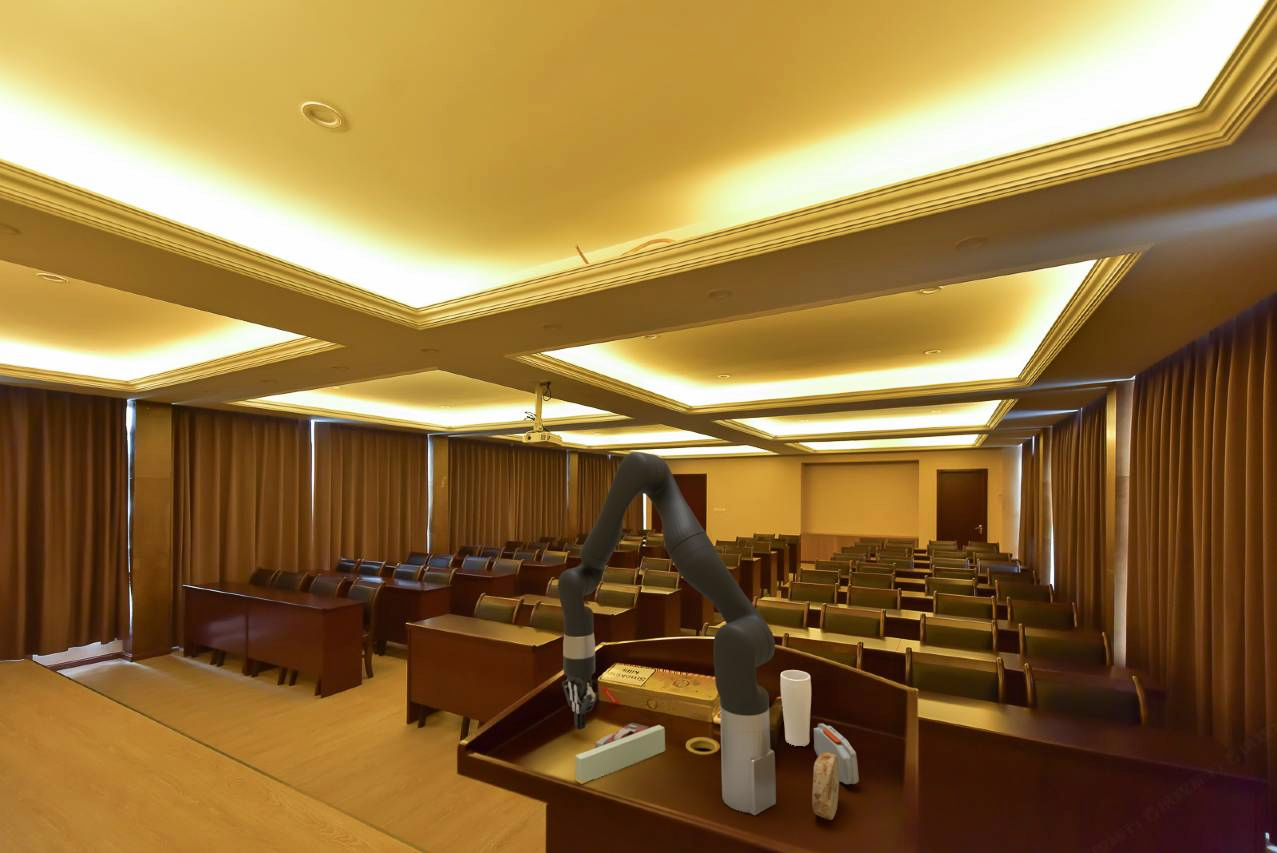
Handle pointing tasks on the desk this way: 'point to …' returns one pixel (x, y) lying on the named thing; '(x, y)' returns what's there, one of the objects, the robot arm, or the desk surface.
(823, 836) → the desk surface
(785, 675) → the drinking glass
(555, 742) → the desk surface
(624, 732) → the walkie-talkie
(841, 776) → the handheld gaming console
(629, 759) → the bar
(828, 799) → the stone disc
